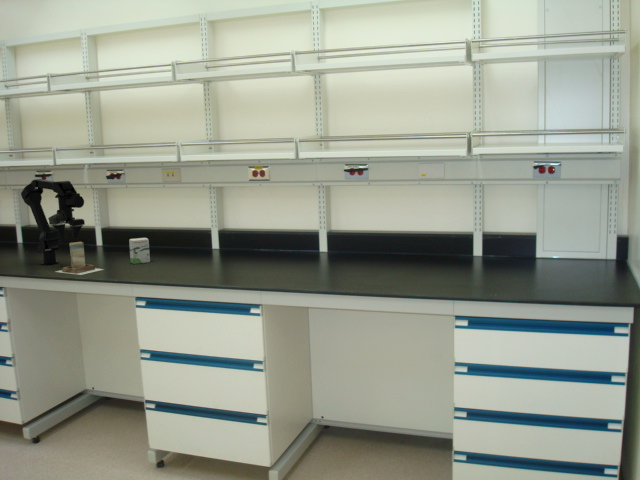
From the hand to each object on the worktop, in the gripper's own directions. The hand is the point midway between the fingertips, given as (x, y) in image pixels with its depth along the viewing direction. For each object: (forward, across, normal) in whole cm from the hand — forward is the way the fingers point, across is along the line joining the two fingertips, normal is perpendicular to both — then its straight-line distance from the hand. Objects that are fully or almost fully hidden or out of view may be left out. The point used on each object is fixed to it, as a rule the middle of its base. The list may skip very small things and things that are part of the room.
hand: (68, 239), depth 282 cm
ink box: (+13, +26, +20) cm, 35 cm away
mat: (+13, +15, -7) cm, 21 cm away
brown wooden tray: (+13, +15, -8) cm, 21 cm away
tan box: (+13, +15, -7) cm, 21 cm away
